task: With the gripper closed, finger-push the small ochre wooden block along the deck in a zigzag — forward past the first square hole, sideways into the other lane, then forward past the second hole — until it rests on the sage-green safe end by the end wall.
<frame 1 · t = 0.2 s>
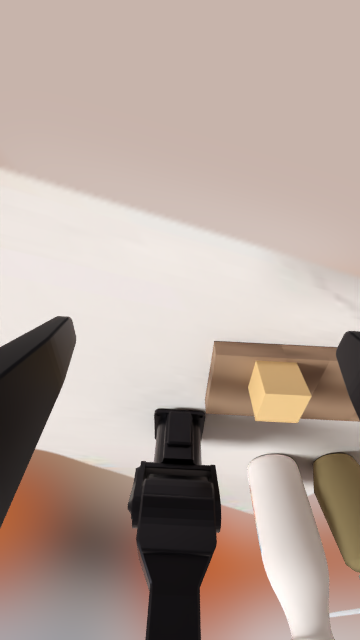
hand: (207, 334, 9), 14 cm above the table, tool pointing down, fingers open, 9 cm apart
deck: (325, 379, 30), on the table
squeeze bottle: (331, 460, 41), on the table
block: (271, 375, 27), point 2 cm above the table, touching deck
milk bottle: (270, 463, 42), on the table
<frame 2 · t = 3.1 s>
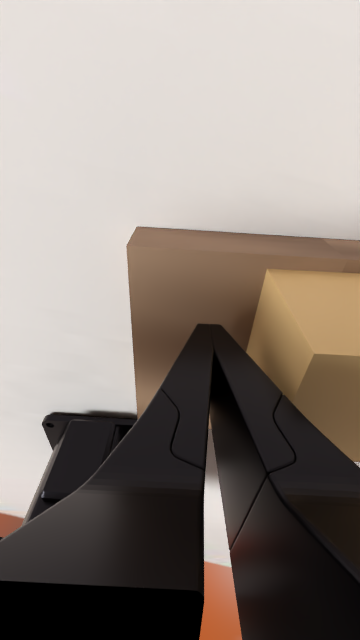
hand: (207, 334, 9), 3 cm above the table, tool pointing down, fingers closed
block: (309, 322, 10), point 2 cm above the table, touching gripper
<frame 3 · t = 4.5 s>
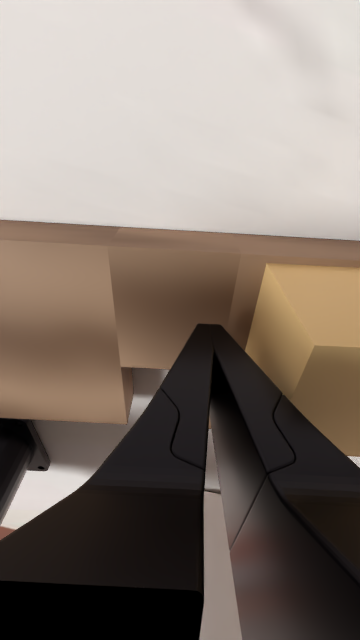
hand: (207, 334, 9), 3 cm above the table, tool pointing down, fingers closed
deck: (261, 335, 13), on the table
block: (308, 317, 10), point 2 cm above the table, touching deck, gripper
milk bottle: (197, 504, 25), on the table
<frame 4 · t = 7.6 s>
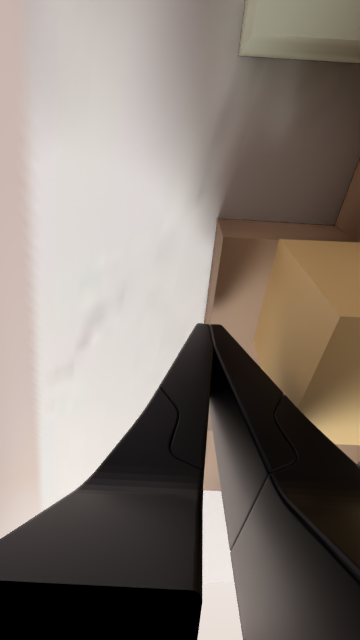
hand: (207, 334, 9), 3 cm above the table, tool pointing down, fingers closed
deck: (314, 311, 12), on the table
block: (323, 299, 9), point 2 cm above the table, touching deck
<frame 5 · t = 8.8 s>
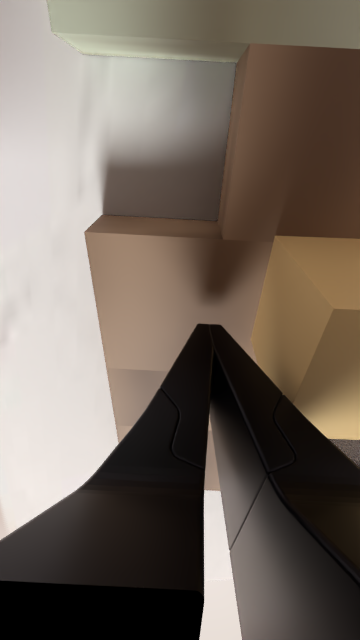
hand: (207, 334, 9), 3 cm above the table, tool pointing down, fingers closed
deck: (219, 306, 12), on the table
block: (320, 296, 9), point 2 cm above the table, touching deck, gripper
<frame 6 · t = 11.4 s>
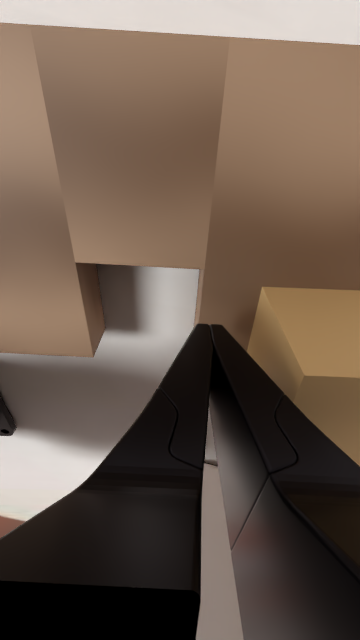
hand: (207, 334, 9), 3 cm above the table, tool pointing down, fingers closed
deck: (260, 236, 10), on the table
block: (303, 335, 10), point 2 cm above the table, touching gripper
milk bottle: (189, 479, 22), on the table
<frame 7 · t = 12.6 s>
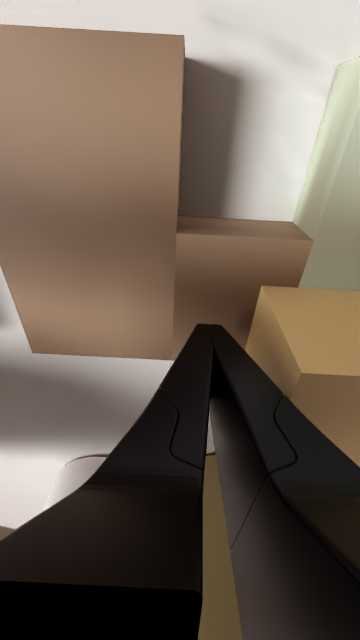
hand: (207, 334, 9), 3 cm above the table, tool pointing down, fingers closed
deck: (80, 225, 10), on the table
squeeze bottle: (220, 468, 21), on the table
block: (301, 334, 10), point 2 cm above the table, touching deck, gripper
milk bottle: (108, 475, 22), on the table
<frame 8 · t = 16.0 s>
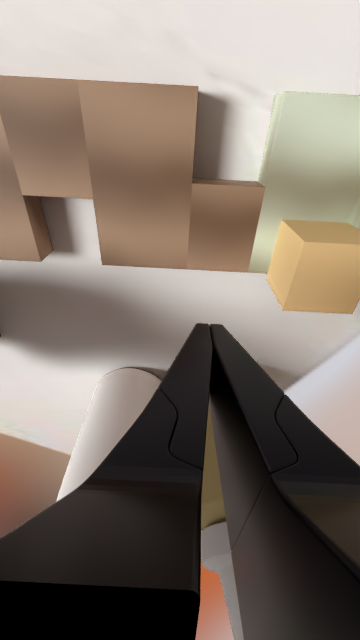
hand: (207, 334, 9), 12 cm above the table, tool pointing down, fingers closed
deck: (134, 184, 17), on the table
squeeze bottle: (218, 381, 28), on the table
block: (304, 252, 17), point 2 cm above the table, touching deck
milk bottle: (133, 389, 29), on the table
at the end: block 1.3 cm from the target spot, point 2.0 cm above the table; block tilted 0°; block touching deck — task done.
